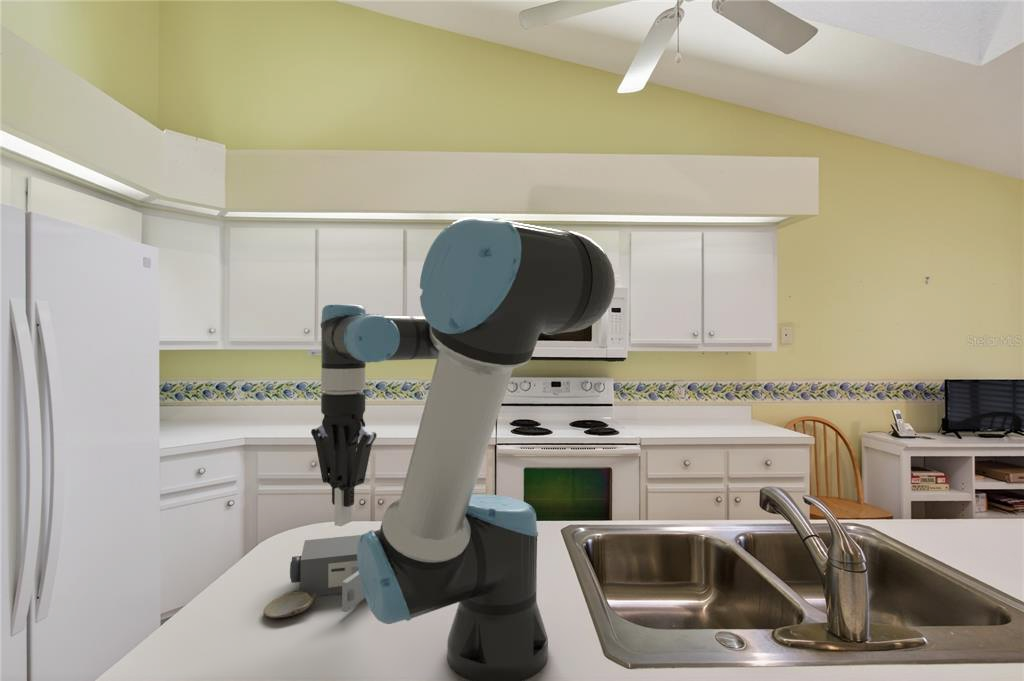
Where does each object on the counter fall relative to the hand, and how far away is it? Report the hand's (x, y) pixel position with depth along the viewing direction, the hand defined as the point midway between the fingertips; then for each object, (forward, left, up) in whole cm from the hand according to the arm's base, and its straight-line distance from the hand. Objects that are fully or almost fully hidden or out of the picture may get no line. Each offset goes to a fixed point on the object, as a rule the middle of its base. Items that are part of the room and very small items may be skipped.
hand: (343, 523), depth 98 cm
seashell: (-1, +9, -15) cm, 17 cm away
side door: (-1, -4, -13) cm, 14 cm away
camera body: (+9, 0, -14) cm, 17 cm away
